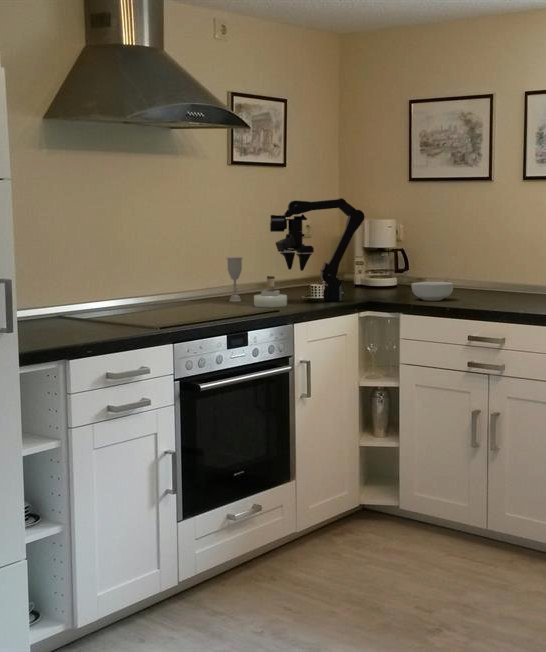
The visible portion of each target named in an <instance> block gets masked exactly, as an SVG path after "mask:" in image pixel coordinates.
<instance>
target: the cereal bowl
mask: <svg viewBox="0 0 546 652" xmlns="http://www.w3.org/2000/svg"><path fill="white" fill-rule="evenodd" d="M453 289H454V283H453V282H449V281H448V282H446V281H421V282H413V283H411V291H412V293H413V294H414V295H415V296H416V297H418V298H420V299H421V300H422V301H430V302H432V301H434V302H436V301H442V300H443V299H444V298H447V297H449V296H451V294H452V293H453Z"/></svg>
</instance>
